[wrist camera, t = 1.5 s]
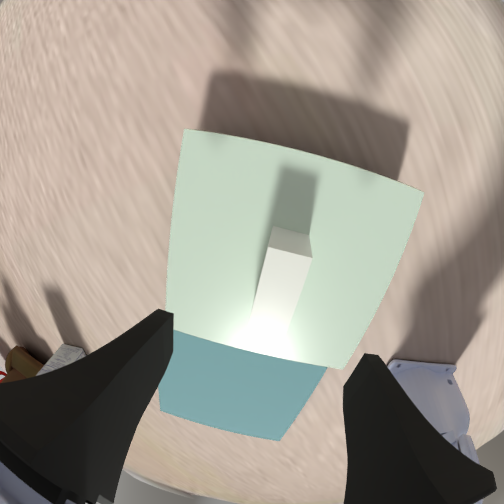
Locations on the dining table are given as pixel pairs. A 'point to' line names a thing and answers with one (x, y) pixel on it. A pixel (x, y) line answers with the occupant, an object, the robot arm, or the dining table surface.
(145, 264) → the dining table surface
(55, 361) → the medicine box
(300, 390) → the mat
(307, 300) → the lid
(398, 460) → the robot arm
